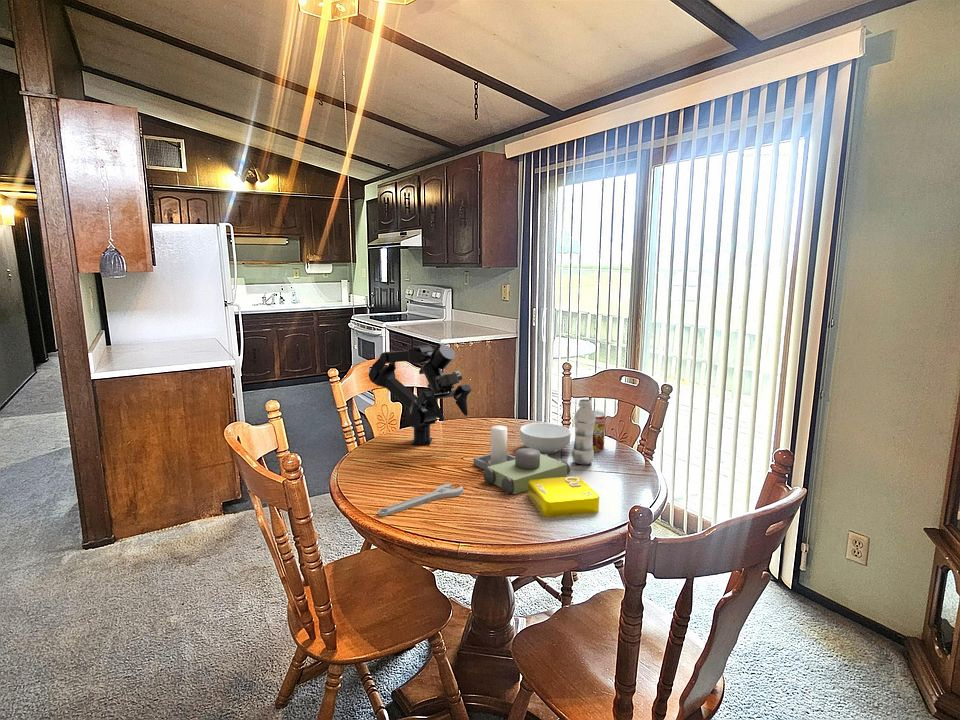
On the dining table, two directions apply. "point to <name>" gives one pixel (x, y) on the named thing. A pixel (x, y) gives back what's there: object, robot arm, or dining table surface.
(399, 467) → the dining table surface
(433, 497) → the adjustable wrench
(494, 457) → the white cylindrical piece
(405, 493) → the dining table surface
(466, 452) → the dining table surface
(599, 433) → the canned food
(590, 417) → the plastic bottle
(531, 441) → the cereal bowl
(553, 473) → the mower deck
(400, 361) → the robot arm
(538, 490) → the element tile
